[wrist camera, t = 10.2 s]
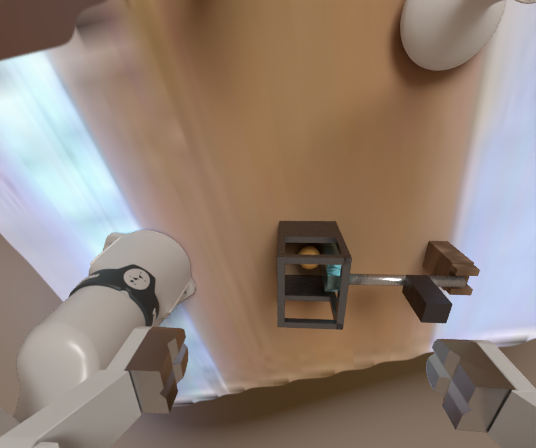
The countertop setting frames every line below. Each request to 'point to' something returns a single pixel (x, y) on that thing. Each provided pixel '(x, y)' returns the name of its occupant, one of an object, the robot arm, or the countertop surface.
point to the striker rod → (414, 286)
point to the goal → (311, 284)
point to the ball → (310, 251)
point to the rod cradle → (449, 265)
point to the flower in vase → (448, 30)
